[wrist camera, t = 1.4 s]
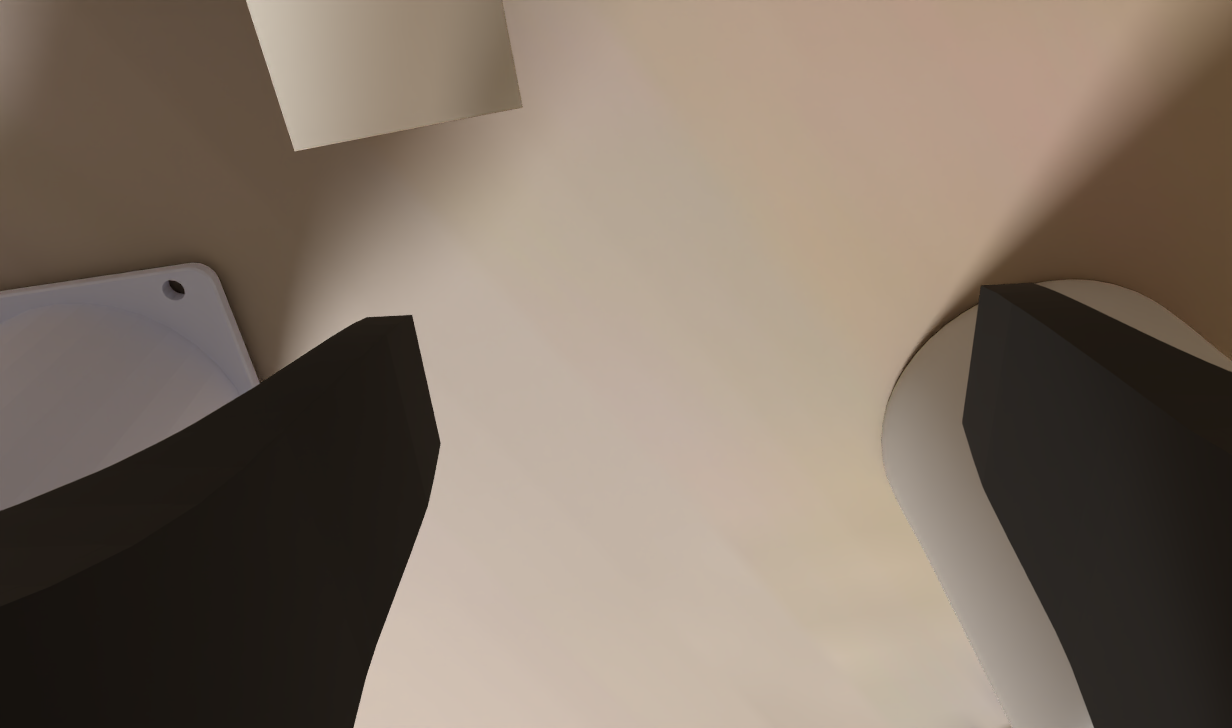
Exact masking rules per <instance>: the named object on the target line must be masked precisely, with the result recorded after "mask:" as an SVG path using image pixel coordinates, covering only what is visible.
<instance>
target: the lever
mask: <svg viewBox="0 0 1232 728" xmlns="http://www.w3.org/2000/svg"><path fill="white" fill-rule="evenodd" d="M246 2H247V5H248V8H249V11H250V14H251V18H252V21H253V24H254V27H255V30H256V33H257V36H258V39H259V42H260V45H261V49H262V52H263V55H264V58H265V61H266V64H267V67H268V70H269V73H270V77H271V80H272V83H273V86H274V89H275V92H276V95H277V98H278V101H279V105H280V108H281V111H282V114H283V117H284V120H285V123H286V126H287V129H288V132H289V136H290V139H291V142H292V145H293V148H294V151H299V150H305V149H310V148H315V147H320V146H325V145H330V144H336V143H341V142H346V141H351V140H356V139H362V138H367V137H372V136H377V135H382V134H387V133H393V132H398V131H403V130H408V129H413V128H418V127H424V126H429V125H434V124H439V123H444V122H450V121H455V120H460V119H465V118H470V117H475V116H481V115H486V114H491V113H496V112H501V111H507V110H512V109H517V108H522V102H521V96H520V91H519V86H518V81H517V76H516V70H515V65H514V60H513V55H512V50H511V45H510V39H509V34H508V29H507V24H506V19H505V13H504V8H503V3H502V0H246Z"/></svg>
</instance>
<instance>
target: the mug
mask: <svg viewBox="0 0 1232 728" xmlns="http://www.w3.org/2000/svg"><path fill="white" fill-rule="evenodd" d="M1035 284H1037V285H1040V286H1043V287H1046V288H1049V289H1051V290H1054V291H1056V292H1059V293H1061V294H1063V295H1066V296H1068V297H1070V298H1072V299H1074V300H1077V301H1079V302H1081V303H1083V304H1085V305H1087V306H1089V307H1091V308H1094V309H1096V310H1098V311H1100V312H1102V313H1104V314H1106V315H1108V316H1110V317H1112V318H1114V319H1116V320H1118V321H1121V322H1123V323H1125V324H1127V325H1129V326H1131V327H1133V328H1135V329H1137V330H1139V331H1141V332H1143V333H1146V334H1148V335H1150V336H1152V337H1154V338H1156V339H1158V340H1160V341H1162V342H1165V343H1167V344H1169V345H1171V346H1173V347H1175V348H1178V349H1180V350H1182V351H1184V352H1187V353H1189V354H1191V355H1193V356H1195V357H1198V358H1200V359H1202V360H1204V361H1207V362H1209V363H1211V364H1214V365H1216V366H1219V367H1221V368H1224V369H1226V370H1228V371H1231V372H1232V361H1231V360H1230V359H1229V358H1228V357H1226V356H1225V355H1224V354H1223V353H1221V352H1220V351H1219V350H1218V349H1216V348H1215V347H1214V346H1213V345H1211V344H1210V343H1209V342H1208V341H1207V340H1205V339H1204V338H1203V337H1202V336H1201V335H1199V334H1198V333H1197V332H1196V331H1195V330H1193V329H1192V328H1191V327H1190V326H1188V325H1187V324H1186V323H1184V322H1183V321H1182V320H1181V319H1179V318H1178V317H1177V316H1175V315H1174V314H1173V313H1171V312H1170V311H1168V310H1167V309H1166V308H1164V307H1163V306H1162V305H1160V304H1158V303H1157V302H1155V301H1154V300H1152V299H1150V298H1148V297H1146V296H1144V295H1142V294H1140V293H1138V292H1136V291H1133V290H1130V289H1127V288H1124V287H1121V286H1118V285H1114V284H1111V283H1105V282H1100V281H1094V280H1077V279H1067V280H1054V281H1046V282H1041V283H1035ZM977 311H978V305H976V306H974V307H972V308H970V309H969V310H967V311H965V312H963V313H962V314H961V315H959V316H958V317H956V318H955V319H953V320H952V321H951V322H949V323H948V324H946V325H945V326H944V327H943V328H942V329H941V330H939V331H938V332H937V333H936V334H935V335H934V336H933V337H931V338H930V339H929V340H928V341H927V342H926V344H925V345H924V346H923V347H922V348H921V349H920V350H919V351H918V352H917V353H916V355H915V356H914V357H913V359H912V360H911V361H910V363H909V364H908V365H907V367H906V368H905V370H904V371H903V373H902V374H901V376H900V378H899V380H898V382H897V383H896V385H895V387H894V389H893V391H892V394H891V397H890V399H889V402H888V404H887V407H886V411H885V416H884V420H883V426H882V437H881V443H882V456H883V463H884V468H885V472H886V476H887V479H888V481H889V484H890V486H891V488H892V491H893V493H894V495H895V498H896V500H897V502H898V504H899V506H900V508H901V510H902V512H903V513H904V515H905V517H906V519H907V521H908V523H909V524H910V526H911V528H912V530H913V532H914V534H915V535H916V537H917V539H918V541H919V543H920V545H921V547H922V549H923V550H924V552H925V554H926V556H927V558H928V560H929V562H930V564H931V566H932V568H933V570H934V572H935V574H936V576H937V578H938V580H939V582H940V584H941V586H942V588H943V590H944V592H945V594H946V596H947V598H948V600H949V602H950V604H951V606H952V608H953V610H954V612H955V614H956V616H957V618H958V620H959V622H960V624H961V626H962V628H963V630H964V632H965V634H966V636H967V638H968V640H969V642H970V644H971V646H972V648H973V650H974V652H975V654H976V656H977V658H978V660H979V662H980V664H981V666H982V668H983V670H984V672H985V674H986V676H987V678H988V680H989V682H990V684H991V686H992V688H993V690H994V693H995V695H996V697H997V699H998V701H999V703H1000V705H1001V707H1002V709H1003V711H1004V713H1005V715H1006V717H1007V719H1008V721H1009V723H1010V725H1011V727H1012V728H1094V727H1093V724H1092V721H1091V719H1090V716H1089V713H1088V711H1087V708H1086V705H1085V703H1084V700H1083V697H1082V694H1081V692H1080V689H1079V686H1078V684H1077V681H1076V678H1075V676H1074V673H1073V670H1072V668H1071V665H1070V663H1069V661H1068V658H1067V656H1066V654H1065V652H1064V649H1063V647H1062V645H1061V643H1060V641H1059V638H1058V636H1057V634H1056V632H1055V630H1054V628H1053V626H1052V624H1051V622H1050V620H1049V618H1048V616H1047V614H1046V612H1045V610H1044V608H1043V606H1042V604H1041V602H1040V600H1039V598H1038V596H1037V594H1036V592H1035V591H1034V589H1033V587H1032V585H1031V583H1030V581H1029V579H1028V577H1027V575H1026V573H1025V571H1024V569H1023V567H1022V565H1021V563H1020V561H1019V559H1018V557H1017V555H1016V553H1015V551H1014V549H1013V547H1012V546H1011V544H1010V542H1009V540H1008V538H1007V536H1006V534H1005V532H1004V530H1003V528H1002V526H1001V524H1000V522H999V520H998V518H997V516H996V514H995V512H994V510H993V508H992V506H991V504H990V502H989V499H988V497H987V495H986V493H985V491H984V489H983V487H982V484H981V481H980V478H979V475H978V472H977V469H976V466H975V464H974V461H973V458H972V454H971V451H970V448H969V444H968V441H967V438H966V435H965V431H964V428H963V425H962V418H963V411H964V404H965V397H966V390H967V383H968V375H969V368H970V361H971V354H972V347H973V339H974V332H975V325H976V318H977Z"/></svg>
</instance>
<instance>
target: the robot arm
mask: <svg viewBox="0 0 1232 728" xmlns="http://www.w3.org/2000/svg"><path fill="white" fill-rule="evenodd" d="M169 280H173V281H177V282H178V283H180V284H181V285H182V286H183V288H184V290H185V294H182V293H177V292H175V291H174V290H172V288H171V287H170V285H169ZM962 425H963V428H964V431H965V435H966V438H967V441H968V444H969V448H970V451H971V454H972V458H973V461H974V464H975V466H976V469H977V472H978V475H979V478H980V481H981V484H982V487H983V489H984V491H985V493H986V495H987V497H988V499H989V502H990V504H991V506H992V508H993V510H994V512H995V514H996V516H997V518H998V520H999V522H1000V524H1001V526H1002V528H1003V530H1004V532H1005V534H1006V536H1007V538H1008V540H1009V542H1010V544H1011V546H1012V547H1013V549H1014V551H1015V553H1016V555H1017V557H1018V559H1019V561H1020V563H1021V565H1022V567H1023V569H1024V571H1025V573H1026V575H1027V577H1028V579H1029V581H1030V583H1031V585H1032V587H1033V589H1034V591H1035V592H1036V594H1037V596H1038V598H1039V600H1040V602H1041V604H1042V606H1043V608H1044V610H1045V612H1046V614H1047V616H1048V618H1049V620H1050V622H1051V624H1052V626H1053V628H1054V630H1055V632H1056V634H1057V636H1058V638H1059V641H1060V643H1061V645H1062V647H1063V649H1064V652H1065V654H1066V656H1067V658H1068V661H1069V663H1070V665H1071V668H1072V670H1073V673H1074V676H1075V678H1076V681H1077V684H1078V686H1079V689H1080V692H1081V694H1082V697H1083V700H1084V703H1085V705H1086V708H1087V711H1088V713H1089V716H1090V719H1091V721H1092V724H1093V727H1094V728H1232V372H1231V371H1228V370H1226V369H1224V368H1221V367H1219V366H1216V365H1214V364H1211V363H1209V362H1207V361H1204V360H1202V359H1200V358H1198V357H1195V356H1193V355H1191V354H1189V353H1187V352H1184V351H1182V350H1180V349H1178V348H1175V347H1173V346H1171V345H1169V344H1167V343H1165V342H1162V341H1160V340H1158V339H1156V338H1154V337H1152V336H1150V335H1148V334H1146V333H1143V332H1141V331H1139V330H1137V329H1135V328H1133V327H1131V326H1129V325H1127V324H1125V323H1123V322H1121V321H1118V320H1116V319H1114V318H1112V317H1110V316H1108V315H1106V314H1104V313H1102V312H1100V311H1098V310H1096V309H1094V308H1091V307H1089V306H1087V305H1085V304H1083V303H1081V302H1079V301H1077V300H1074V299H1072V298H1070V297H1068V296H1066V295H1063V294H1061V293H1059V292H1056V291H1054V290H1051V289H1049V288H1046V287H1043V286H1040V285H1037V284H1034V283H1021V284H1002V285H983V286H981V289H980V296H979V304H978V311H977V318H976V325H975V332H974V339H973V347H972V354H971V361H970V368H969V375H968V383H967V390H966V397H965V404H964V411H963V418H962ZM440 444H441V443H440V439H439V434H438V430H437V425H436V421H435V416H434V412H433V407H432V403H431V398H430V394H429V389H428V385H427V380H426V376H425V371H424V367H423V362H422V358H421V353H420V349H419V344H418V340H417V335H416V331H415V326H414V322H413V317H412V315H403V316H384V317H367V318H364V319H362V320H360V321H358V322H356V323H354V324H352V325H350V326H349V327H347V328H345V329H343V330H342V331H340V332H338V333H337V334H335V335H334V336H332V337H330V338H329V339H327V340H326V341H324V342H323V343H321V344H320V345H318V346H317V347H315V348H314V349H312V350H310V351H309V352H307V353H306V354H304V355H303V356H301V357H300V358H298V359H297V360H295V361H294V362H292V363H291V364H289V365H288V366H286V367H285V368H283V369H281V370H280V371H278V372H277V373H275V374H274V375H272V376H271V377H269V378H268V379H266V380H265V381H263V382H262V383H260V382H259V380H258V377H257V375H256V372H255V369H254V367H253V364H252V362H251V359H250V357H249V354H248V352H247V349H246V346H245V344H244V341H243V339H242V336H241V334H240V331H239V328H238V326H237V323H236V321H235V318H234V316H233V313H232V311H231V308H230V305H229V303H228V300H227V298H226V295H225V293H224V290H223V287H222V285H221V282H220V280H219V278H218V276H217V275H216V273H215V271H213V270H212V269H211V268H210V267H208V266H206V265H204V264H201V263H186V264H179V265H173V266H166V267H159V268H152V269H146V270H139V271H132V272H126V273H119V274H112V275H105V276H99V277H92V278H85V279H79V280H72V281H65V282H58V283H52V284H45V285H38V286H31V287H25V288H18V289H11V290H5V291H0V728H353V727H354V723H355V719H356V715H357V711H358V707H359V703H360V699H361V695H362V691H363V687H364V683H365V679H366V676H367V673H368V669H369V666H370V663H371V660H372V657H373V654H374V651H375V648H376V645H377V642H378V639H379V637H380V634H381V631H382V629H383V626H384V623H385V621H386V618H387V615H388V613H389V610H390V607H391V605H392V602H393V599H394V597H395V594H396V591H397V589H398V586H399V583H400V581H401V578H402V575H403V573H404V570H405V567H406V565H407V562H408V559H409V557H410V554H411V551H412V549H413V546H414V543H415V540H416V538H417V535H418V532H419V529H420V527H421V524H422V521H423V518H424V515H425V512H426V510H427V507H428V503H429V498H430V494H431V489H432V485H433V480H434V475H435V470H436V465H437V460H438V454H439V449H440Z"/></svg>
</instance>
